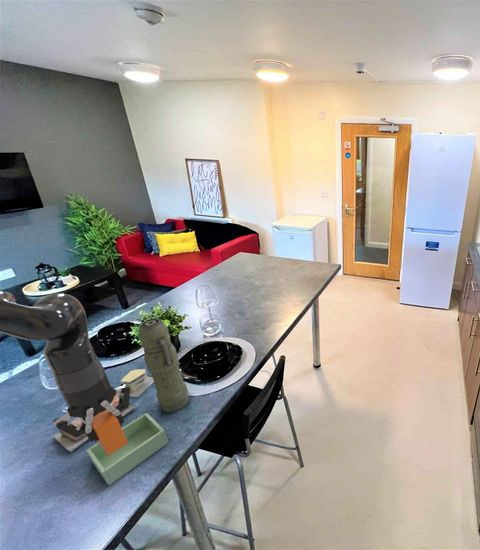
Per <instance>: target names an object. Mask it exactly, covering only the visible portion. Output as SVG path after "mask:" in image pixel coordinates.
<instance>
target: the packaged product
mask: <svg viewBox="0 0 480 550" xmlns="http://www.w3.org/2000/svg"><path fill="white" fill-rule="evenodd" d="M118 402H119V395H118V394H117V393H116V394H115V396H114V398H113V401H112V404H113V405H114V406H115V407H116V406H117V405H118ZM134 410H135V407H134V406H133V405H131V403H130V402H129V406H128V408H127V409H124V410H123V411H122V412H121V415H122V417H125V416H126V415H128V414H129V413H131V412H132V411H134ZM71 424H72V425H74V426H76V427H80V426H81V418H78V417H76V418H75V419H73V420H71ZM53 438H54V439H55V441H57V442H58V443H59V444H60V445H61V446H62V447H63V448H64V449H65V450H66V451H68V452H69V453H72V452H73V451H74V450H76V449H78V448H79V447H80V446H82V445H83V444H84V443H86V442H87V441H90V440H89V439H88V437H87V436H86V434H85V433H84V434H81V435H80V436H79V437H73V436H72V435H70V434H68V433H66V432H64V431H62V430H60V429H58V433H56V434H54V435H53Z"/></svg>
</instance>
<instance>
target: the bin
mask: <svg viewBox="0 0 480 550" xmlns="http://www.w3.org/2000/svg"><path fill="white" fill-rule="evenodd" d="M121 428H122V430H123V433H124V435H125V437H126V439H127V441H128V443H127V444H126V445H124V446H123V447H121V448H120V449H118V450H117V451H115V452H114V453H112V454H111V455H109V456H108V454H107V453H106V452H105V451H104V449H103V448H102V447H101V445H100V444H99V443H98V442H96V443H95V444H93V445H92V446H90V447H89V448H87V449H86V450H85V452H86V454H87V455H88V457H89V459H90V461H91V462H92V464H93V466H94V467H95V468H96V470H97V471H98V474H100V475H101V477H102V478H103V480H104V481H105V483H106V484H107V486H111V485H112V484H114V483H115V482H117V481H118V480H119V479H120V478H122V477H123V476H124V475H126V474H127V473H129V472H130V471H131V470H132V469H135V467H137V466H138V465H140V464H141V463H142V462H144V461H145V460H147V459H148V458H149V457H150V456H152V455H154V454H155V453H156V452H157V451H159V450H160V449H162V448H163V447H165V446H166V445H167V444H168V443H169V439H168V436H167V433H166V431H165V429H164V428H163V427H162V426H161V425H160V424H159V423H158V422H157V421H156V420H155V419H154V418H153V417H152V416H151V415H150V414H149V413H148V412H145V413H143V414H142V415H141V416H139V417H137V418H136V419H134V420H132V421H130V422H129V423H127V424H126V425H124V426H123V427H121Z"/></svg>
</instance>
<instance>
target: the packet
mask: <svg viewBox="0 0 480 550" xmlns="http://www.w3.org/2000/svg"><path fill="white" fill-rule="evenodd" d="M92 428H93V429H94V431H95V433H96V435H97V437H98V439H99V440H98V441H97V442H96V443H99V444H100V445H101V447H102V448H103V449H104V451H105V452H106V453H107V454H108V456H109V455H111V454H112V453H114V452H115V451H117V450H118V449H120V448H121V447H123V446H124V445H126V444H127V443H128V441H127V439H126V437H125V435H124V433H123V430H122V428H123V427H122V426H120V424H119V421H118V419H117V418H116V417H115V416H114V415H113V414H112V413H110V412H109V411H108V410H105V411H103V412H101V413H99V414H98V415H96V416H95V417H93V423H92Z"/></svg>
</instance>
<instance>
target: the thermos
mask: <svg viewBox="0 0 480 550" xmlns="http://www.w3.org/2000/svg"><path fill="white" fill-rule="evenodd" d="M138 338H139V341H140V343H141V346H142V348H143V352H144V356H143V359H144V360H143V361H144V363H145V366H146V369H147V372H148V373H150V374H151V377H153V380H154V382H153V384H154V386H155V389H156V398H157V401H158V404H159V405H160V408H161V410H162V412H164V413H174V412H177V411H179V410H181V409H183V408H184V407H186V405H187V404H188V403H189V400H190V395H189V391H188V387H187V383H186V382H185V381H184V379H183V375H182V372H181V369H180V365H179V363H180V362H179V361H180V360H179V355H178V352H177V348H176V347H175V346H174V345H173V343H172V341H171V335H170V332H169V329H168V326H167V324H166V323H165V322H164V321H163V320H162V319H161V318H149V319H146V320H144V321H142V322H141V323H140V324H139V326H138Z"/></svg>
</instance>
